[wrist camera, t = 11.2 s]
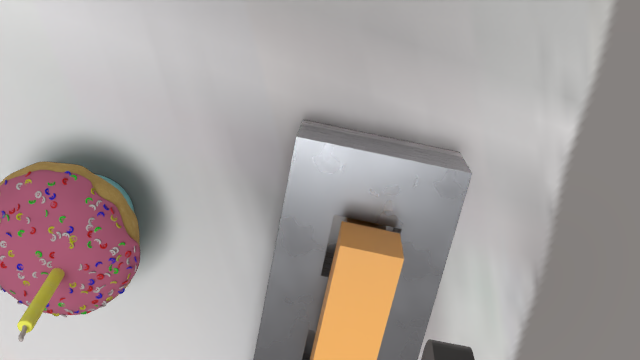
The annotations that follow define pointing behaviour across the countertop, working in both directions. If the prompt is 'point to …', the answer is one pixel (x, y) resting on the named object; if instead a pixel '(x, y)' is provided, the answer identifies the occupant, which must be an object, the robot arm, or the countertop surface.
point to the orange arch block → (358, 292)
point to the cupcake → (65, 240)
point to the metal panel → (366, 205)
